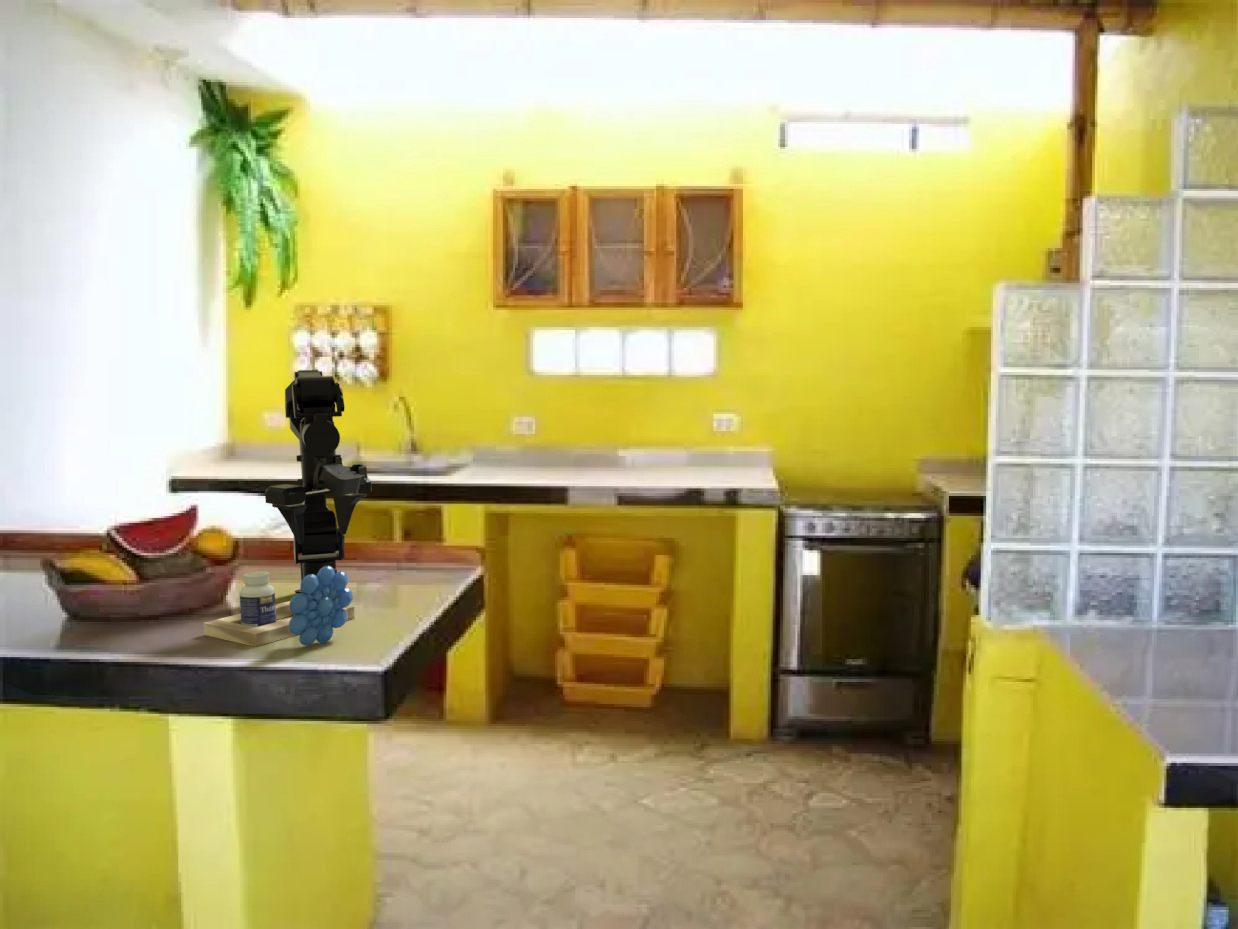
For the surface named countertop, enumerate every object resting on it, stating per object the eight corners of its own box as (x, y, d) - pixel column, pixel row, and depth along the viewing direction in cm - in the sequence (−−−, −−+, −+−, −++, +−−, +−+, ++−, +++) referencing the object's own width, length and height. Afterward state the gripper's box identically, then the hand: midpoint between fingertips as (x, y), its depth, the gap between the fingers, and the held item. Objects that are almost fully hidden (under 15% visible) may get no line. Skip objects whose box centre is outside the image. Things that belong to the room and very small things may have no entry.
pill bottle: (265, 638, 169) (262, 577, 168) (235, 636, 170) (231, 576, 169) (283, 629, 174) (280, 570, 173) (253, 627, 175) (250, 569, 174)
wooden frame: (303, 608, 188) (303, 597, 187) (354, 618, 180) (354, 606, 180) (204, 635, 171) (203, 622, 171) (256, 646, 164) (255, 634, 164)
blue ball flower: (336, 630, 173) (333, 558, 171) (363, 637, 169) (360, 562, 167) (274, 647, 164) (270, 570, 162) (300, 654, 159) (297, 576, 158)
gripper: (304, 457, 171) (308, 553, 172) (391, 446, 186) (394, 534, 188) (261, 453, 177) (265, 545, 179) (348, 443, 192) (352, 528, 194)
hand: (322, 538), depth 185 cm, fingers open, 9 cm apart
